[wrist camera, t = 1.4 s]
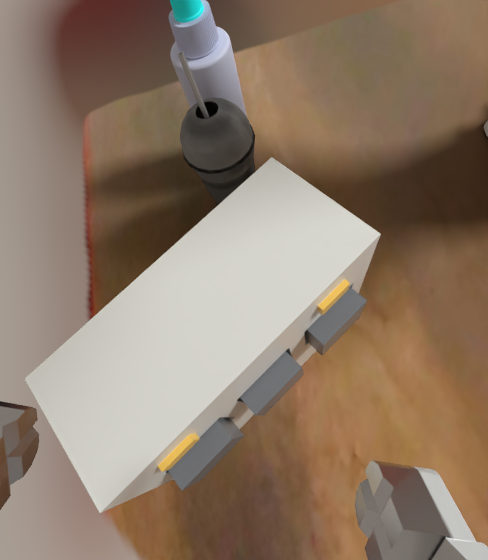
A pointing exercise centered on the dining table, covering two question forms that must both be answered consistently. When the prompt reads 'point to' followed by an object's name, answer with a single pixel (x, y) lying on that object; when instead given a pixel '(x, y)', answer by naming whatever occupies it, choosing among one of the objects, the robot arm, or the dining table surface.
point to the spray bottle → (203, 53)
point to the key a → (206, 452)
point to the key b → (335, 321)
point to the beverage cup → (217, 142)
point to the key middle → (272, 384)
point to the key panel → (199, 331)
